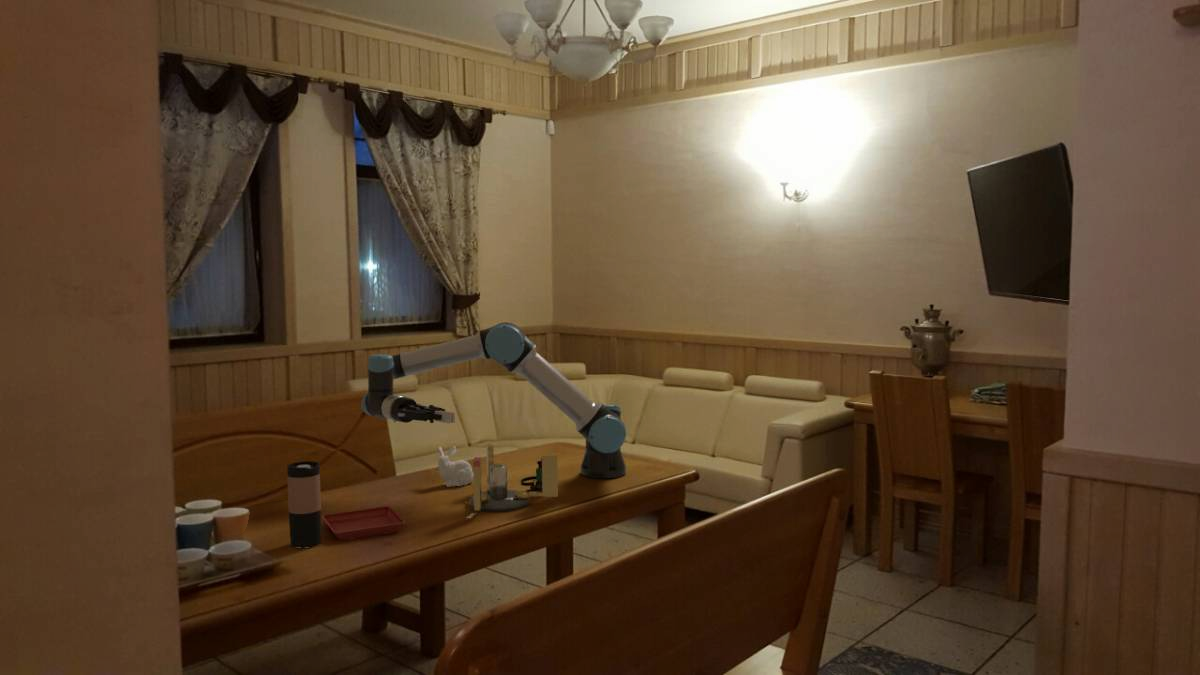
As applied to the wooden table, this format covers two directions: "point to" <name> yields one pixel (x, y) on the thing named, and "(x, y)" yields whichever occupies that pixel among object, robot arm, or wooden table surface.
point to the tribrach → (514, 499)
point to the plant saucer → (364, 522)
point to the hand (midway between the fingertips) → (452, 418)
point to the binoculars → (538, 477)
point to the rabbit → (454, 470)
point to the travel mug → (304, 504)
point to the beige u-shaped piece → (478, 485)
